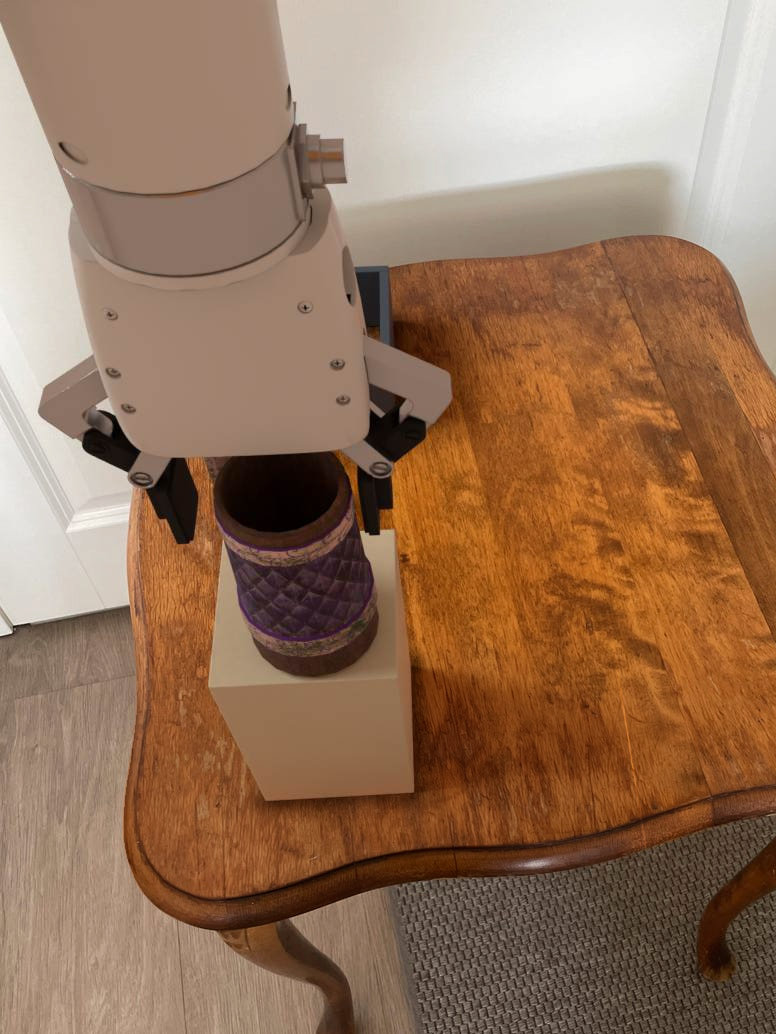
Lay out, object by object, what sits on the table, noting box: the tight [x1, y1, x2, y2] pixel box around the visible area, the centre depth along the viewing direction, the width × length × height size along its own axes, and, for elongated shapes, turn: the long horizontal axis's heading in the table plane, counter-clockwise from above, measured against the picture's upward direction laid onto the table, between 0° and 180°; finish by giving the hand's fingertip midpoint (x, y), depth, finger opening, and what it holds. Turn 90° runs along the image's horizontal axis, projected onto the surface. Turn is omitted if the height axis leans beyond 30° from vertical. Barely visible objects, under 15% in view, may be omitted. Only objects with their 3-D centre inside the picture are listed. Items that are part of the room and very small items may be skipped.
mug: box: [202, 451, 379, 677], centre depth 47 cm, size 10×7×12 cm
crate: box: [354, 265, 396, 414], centre depth 82 cm, size 13×14×6 cm
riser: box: [207, 528, 415, 802], centre depth 59 cm, size 10×10×16 cm
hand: (281, 516), depth 45 cm, fingers open, 8 cm apart
